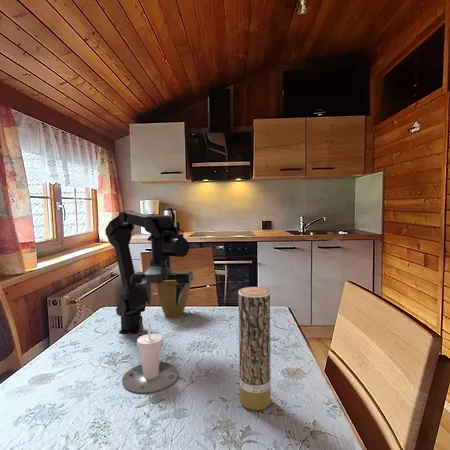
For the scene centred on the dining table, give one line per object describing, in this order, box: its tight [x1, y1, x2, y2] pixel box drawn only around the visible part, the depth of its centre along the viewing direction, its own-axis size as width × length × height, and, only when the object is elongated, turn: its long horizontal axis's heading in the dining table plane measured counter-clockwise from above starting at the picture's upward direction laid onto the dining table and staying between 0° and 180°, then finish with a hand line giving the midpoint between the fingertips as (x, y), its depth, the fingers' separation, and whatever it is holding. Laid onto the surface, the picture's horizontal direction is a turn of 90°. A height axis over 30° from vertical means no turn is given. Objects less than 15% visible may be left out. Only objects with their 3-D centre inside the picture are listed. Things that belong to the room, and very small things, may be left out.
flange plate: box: [121, 361, 180, 394], centre depth 79 cm, size 14×14×1 cm
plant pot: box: [154, 271, 192, 318], centre depth 127 cm, size 15×15×16 cm
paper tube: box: [238, 286, 272, 411], centre depth 68 cm, size 7×7×25 cm
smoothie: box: [136, 321, 164, 379], centre depth 79 cm, size 6×6×14 cm
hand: (163, 304), depth 98 cm, fingers open, 9 cm apart
